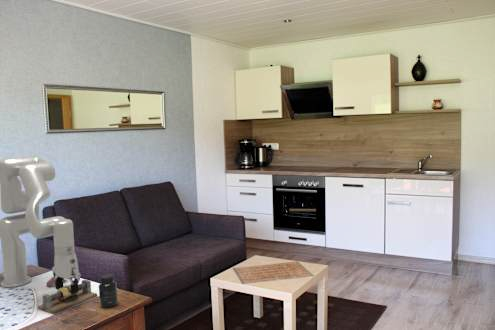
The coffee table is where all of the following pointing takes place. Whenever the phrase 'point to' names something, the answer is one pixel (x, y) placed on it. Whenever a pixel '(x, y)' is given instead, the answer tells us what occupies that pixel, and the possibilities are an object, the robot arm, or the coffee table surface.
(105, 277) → the supplement bottle
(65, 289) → the coupling sleeve
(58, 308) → the shaft bench
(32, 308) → the coffee table surface
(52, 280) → the dusty red lumpy block
